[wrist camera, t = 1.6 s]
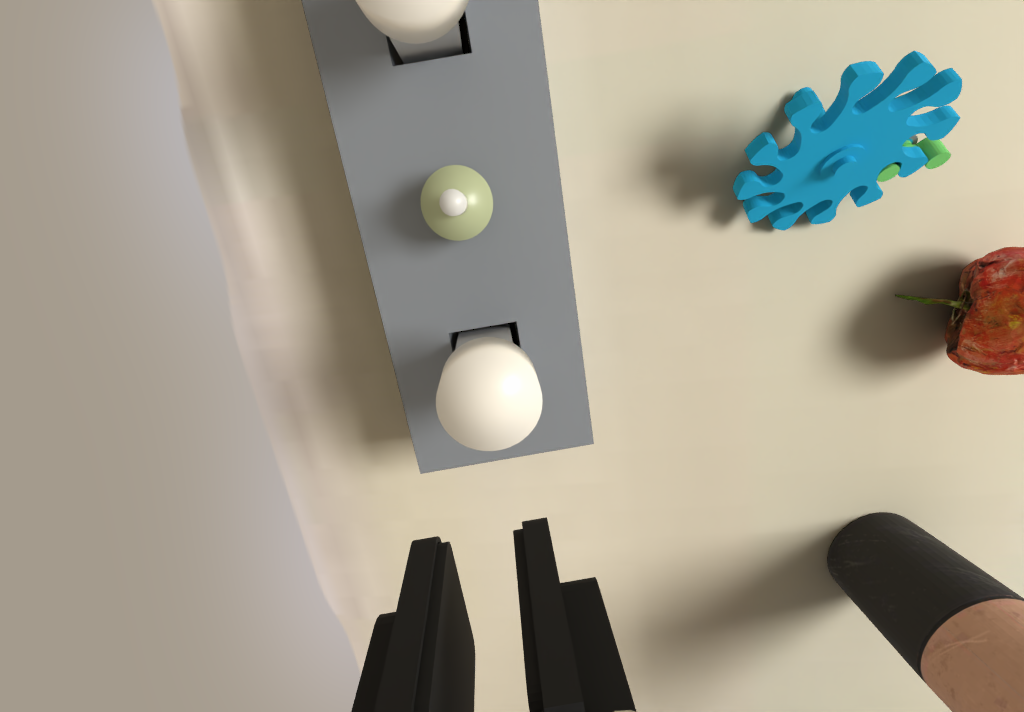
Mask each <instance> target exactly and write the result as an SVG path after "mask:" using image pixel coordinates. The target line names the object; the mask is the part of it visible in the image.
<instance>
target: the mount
mask: <svg viewBox="0 0 1024 712" xmlns="http://www.w3.org/2000/svg"><path fill="white" fill-rule="evenodd" d="M302 4H303V8H304V12H305V16H306V20H307V24H308V28H309V32H310V36H311V40H312V44H313V48H314V52H315V56H316V60H317V64H318V68H319V72H320V76H321V80H322V84H323V88H324V92H325V96H326V100H327V104H328V108H329V112H330V115H331V119H332V123H333V127H334V131H335V135H336V139H337V143H338V147H339V151H340V155H341V159H342V163H343V167H344V171H345V175H346V179H347V183H348V187H349V191H350V195H351V199H352V203H353V207H354V211H355V215H356V219H357V223H358V227H359V231H360V235H361V239H362V243H363V247H364V251H365V255H366V259H367V263H368V267H369V271H370V275H371V279H372V283H373V287H374V291H375V295H376V298H377V302H378V306H379V310H380V314H381V318H382V322H383V326H384V330H385V334H386V338H387V342H388V346H389V350H390V354H391V358H392V362H393V366H394V370H395V374H396V378H397V382H398V386H399V390H400V394H401V398H402V402H403V406H404V410H405V414H406V418H407V422H408V426H409V430H410V434H411V438H412V442H413V446H414V450H415V454H416V458H417V462H418V466H419V470H420V474H422V473H428V472H434V471H440V470H445V469H451V468H457V467H463V466H468V465H474V464H480V463H486V462H492V461H497V460H503V459H509V458H515V457H520V456H526V455H532V454H538V453H543V452H549V451H555V450H561V449H567V448H572V447H578V446H584V445H590V444H594V442H593V434H592V426H591V418H590V410H589V402H588V394H587V386H586V378H585V370H584V362H583V354H582V346H581V338H580V330H579V322H578V314H577V306H576V299H575V291H574V283H573V275H572V267H571V259H570V251H569V243H568V235H567V227H566V219H565V211H564V203H563V195H562V187H561V179H560V171H559V163H558V155H557V147H556V139H555V131H554V123H553V115H552V107H551V99H550V92H549V84H548V76H547V68H546V60H545V52H544V44H543V36H542V28H541V20H540V12H539V4H538V0H469V1H468V4H467V7H466V9H465V11H464V13H463V15H464V21H465V27H466V33H467V39H468V45H469V51H470V53H468V54H463V55H457V56H451V57H445V58H439V59H433V60H428V61H422V62H416V63H410V64H403V61H402V59H401V57H400V56H399V54H398V52H397V50H396V48H395V47H394V45H393V43H392V41H391V39H390V38H389V36H387V35H385V34H384V33H382V32H381V31H379V30H378V29H377V28H376V27H375V26H374V25H373V24H372V23H371V22H370V21H369V20H368V19H367V17H366V16H365V14H364V13H363V12H362V10H361V9H360V7H359V5H358V4H357V2H356V0H302ZM449 165H462V166H466V167H469V168H471V169H473V170H475V171H476V172H478V173H479V174H480V175H481V176H482V177H483V178H484V179H485V181H486V182H487V184H488V186H489V187H490V190H491V193H492V197H493V211H492V215H491V218H490V220H489V222H488V224H487V226H486V227H485V228H484V229H483V230H482V231H481V232H480V233H479V234H478V235H476V236H474V237H473V238H470V239H467V240H461V241H454V240H449V239H446V238H444V237H441V236H440V235H438V234H437V233H435V232H434V231H433V230H432V229H431V228H430V227H429V225H428V224H427V222H426V221H425V219H424V216H423V214H422V210H421V193H422V189H423V187H424V185H425V183H426V181H427V180H428V178H429V177H430V176H431V175H432V174H433V173H434V172H435V171H437V170H439V169H440V168H443V167H445V166H449ZM510 322H515V327H516V333H517V339H518V345H519V347H520V348H521V349H522V350H523V351H524V352H525V353H526V354H527V355H528V357H529V358H530V360H531V362H532V363H533V366H534V368H535V371H536V375H537V378H538V381H539V384H540V388H541V392H542V400H543V402H542V411H541V415H540V418H539V420H538V422H537V424H536V426H535V427H534V429H533V430H532V431H531V433H530V434H529V435H528V436H527V437H526V438H524V439H523V440H522V441H520V442H519V443H517V444H515V445H513V446H511V447H509V448H506V449H502V450H497V451H480V450H475V449H471V448H469V447H466V446H464V445H462V444H460V443H459V442H457V441H456V440H454V439H453V438H452V437H451V436H450V435H449V434H448V433H447V432H446V430H445V429H444V428H443V426H442V424H441V422H440V420H439V418H438V414H437V410H436V394H437V390H438V386H439V382H440V379H441V375H442V371H443V368H444V365H445V363H446V361H447V360H448V358H449V356H450V355H451V354H452V353H453V352H454V351H455V349H456V344H457V339H458V335H459V333H458V331H464V330H470V329H476V328H482V327H487V326H493V325H499V324H505V323H510Z"/></svg>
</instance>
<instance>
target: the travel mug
mask: <svg viewBox="0 0 1024 712" xmlns="http://www.w3.org/2000/svg"><path fill="white" fill-rule="evenodd" d="M828 568H829V571H830V573H831V575H832V577H833V578H834V579H835V581H836V582H837V583H838V584H839V586H840V587H841V588H842V589H843V590H844V591H845V593H846V594H847V595H848V596H849V597H850V598H851V599H852V601H853V602H854V603H855V604H856V605H857V606H858V607H859V608H860V610H861V611H862V612H863V613H864V614H865V615H866V616H867V617H868V619H869V620H870V621H871V622H872V623H873V624H874V625H875V627H876V628H877V629H878V630H879V631H880V632H881V633H882V634H883V636H884V637H885V638H886V639H887V640H888V641H889V642H890V643H891V645H892V646H893V647H894V648H895V649H896V650H897V651H898V653H899V654H900V655H901V656H902V657H903V658H904V659H905V660H906V662H907V663H908V664H909V665H910V666H911V667H912V668H913V669H914V671H915V672H916V673H917V674H918V675H919V676H920V677H921V679H922V680H923V681H924V682H925V683H926V684H927V685H928V686H929V687H930V688H931V689H932V691H933V692H934V693H935V694H936V695H937V696H938V697H939V698H940V699H941V700H942V701H943V702H944V703H945V704H946V705H947V706H948V707H949V709H950V710H951V711H952V712H1024V598H1022V597H1021V596H1019V595H1018V594H1016V593H1015V592H1013V591H1012V590H1010V589H1009V588H1008V587H1006V586H1005V585H1003V584H1002V583H1000V582H999V581H997V580H996V579H994V578H993V577H992V576H990V575H989V574H987V573H986V572H984V571H983V570H981V569H980V568H978V567H977V566H976V565H974V564H973V563H971V562H970V561H968V560H967V559H965V558H964V557H962V556H961V555H960V554H958V553H957V552H955V551H954V550H952V549H951V548H949V547H948V546H946V545H945V544H944V543H942V542H941V541H939V540H938V539H936V538H935V537H933V536H932V535H930V534H929V533H928V532H926V531H925V530H923V529H922V528H920V527H919V526H917V525H916V524H914V523H913V522H911V521H909V520H908V519H906V518H904V517H902V516H900V515H897V514H893V513H874V514H870V515H866V516H864V517H861V518H859V519H857V520H855V521H853V522H852V523H850V524H849V525H848V526H846V527H845V528H844V529H843V530H842V531H841V532H840V533H839V534H838V535H837V537H836V538H835V539H834V541H833V543H832V545H831V547H830V549H829V553H828Z"/></svg>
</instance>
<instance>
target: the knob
mask: <svg viewBox="0 0 1024 712" xmlns="http://www.w3.org/2000/svg"><path fill="white" fill-rule="evenodd" d="M468 1H469V0H356V2H357V4H358V5H359V7H360V9H361V10H362V12H363V13H364V14H365V16H366V17H367V19H368V20H369V21H370V22H371V23H372V24H373V25H374V26H375V27H376V28H377V29H378V30H379V31H381V32H382V33H384V34H385V35H387V36H389V38H390V39H391V41H392V43H393V45H394V47H395V48H396V50H397V52H398V54H399V56H400V57H401V59H402V61H403V63H404V64H407V63H413V62H419V61H425V60H431V59H437V58H442V57H448V56H454V55H460V54H463V51H462V44H461V37H460V30H459V23H458V21H459V20H460V18H461V17H462V15H463V13H464V11H465V9H466V7H467V4H468Z"/></svg>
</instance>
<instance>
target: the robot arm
mask: <svg viewBox="0 0 1024 712" xmlns="http://www.w3.org/2000/svg"><path fill="white" fill-rule="evenodd" d="M522 526H523V529H519V530H514V531H513V534H514V546H515V557H516V569H517V580H518V592H519V604H520V615H521V627H522V638H523V650H524V662H525V673H526V685H527V695H528V703H529V710H530V712H636V709H635V705H634V702H633V699H632V695H631V692H630V689H629V685H628V682H627V679H626V675H625V672H624V669H623V665H622V662H621V659H620V655H619V652H618V649H617V645H616V642H615V639H614V636H613V632H612V629H611V626H610V622H609V619H608V616H607V612H606V609H605V606H604V602H603V599H602V596H601V592H600V589H599V586H598V583H597V580H596V578H595V577H594V578H588V579H582V580H576V581H571V582H565V583H560V581H559V576H558V571H557V566H556V561H555V556H554V551H553V546H552V541H551V536H550V531H549V526H548V521H547V518H541V519H535V520H529V521H524V522H522ZM474 689H475V646H474V639H473V634H472V630H471V626H470V622H469V618H468V614H467V610H466V605H465V601H464V597H463V593H462V589H461V585H460V581H459V576H458V572H457V568H456V564H455V560H454V556H453V552H452V548H451V544H450V542H444V543H442V542H441V539H440V537H438V536H437V537H431V538H426V539H420V540H414V541H413V542H412V544H411V547H410V552H409V556H408V561H407V565H406V570H405V574H404V579H403V583H402V588H401V592H400V597H399V601H398V606H397V610H396V612H392V613H387V614H381V615H379V617H378V618H377V620H376V623H375V625H374V629H373V633H372V637H371V640H370V644H369V648H368V652H367V655H366V659H365V663H364V667H363V670H362V674H361V678H360V682H359V685H358V689H357V693H356V697H355V700H354V704H353V708H352V712H474Z"/></svg>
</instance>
